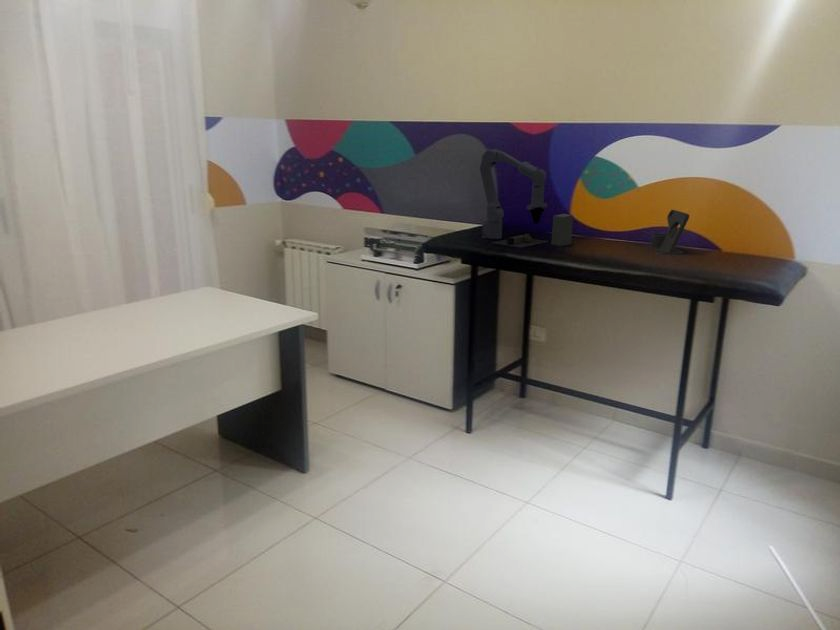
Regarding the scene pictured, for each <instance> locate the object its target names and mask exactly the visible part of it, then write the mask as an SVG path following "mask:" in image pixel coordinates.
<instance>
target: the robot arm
mask: <svg viewBox="0 0 840 630" xmlns="http://www.w3.org/2000/svg"><path fill="white" fill-rule="evenodd" d="M498 162H504V163H506V164H509V165H510V166H512V167H514V168H515V169H516V168H517V169H518V172H519V174H522V175H524V176H526V178H527V177H528V179H531V180H532V188H531V200H530V202H531V203H530V204H528V205H526V210H529V212H530V214H531V216H532V221H533V224H535V225H536V224H537V225H538V224H539V222H540V220H541V216H542V215H543V213H544V211H545V209H544V208H547V207H548V203H545V202H544V196H545V180H546V178H547V173H546V171H545V170H544V169H542V168H539V167H538V166H535V165H532V164H531V161H523V162H521V161H519V160H518V159H516V158H515V157H513V156H511V155H510V154H508V153H506V152H504V151H502V150H499V149H498V148H494V149H490V148H489V149H486V151H484V153H483V154H482V156H481V162H480V166H479V171H480V176H481V180H482V185H483V189H484V193H485V197H486V203H487V206H486V218H487V220H485V221H484V222H483V224H482V237H481V239H490V240H492V239H493V240H498V239H499V240H500V239H502V238H503V237H502V236H503V235H502V234H503V218H504V216H505V211H504V210H503V208H502V206H501V205H502V204H501V203H500V202H499V199H498V196H497V191H496V187H495V182H494V177H493V173H492V169H493V168H494V166H495V165H496V164H498Z"/></svg>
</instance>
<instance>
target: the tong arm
mask: <svg viewBox="0 0 840 630" xmlns="http://www.w3.org/2000/svg"><path fill="white" fill-rule="evenodd" d="M518 236H519V237H515V236H513V237H514V238H510V237H508V238H509V244H510V245H512V244H516V243H521V242H524V237H527V236H526V235H525V234H524V236H520V235H518Z"/></svg>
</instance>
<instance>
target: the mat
mask: <svg viewBox="0 0 840 630" xmlns="http://www.w3.org/2000/svg"><path fill="white" fill-rule="evenodd" d="M548 242H550V241H549V240H542V239H536V238H532V241H531V242H521V243H516V244H512V245H510V244H509V245H508V244H506V243H507V238H505V239H502V240H497V241H491V242H490V244H496V245H502V246H510V247H514V248H521V249H522V248H525V247H531V246H535V245H539V244H543V243H548Z"/></svg>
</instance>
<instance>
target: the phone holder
mask: <svg viewBox="0 0 840 630" xmlns="http://www.w3.org/2000/svg"><path fill="white" fill-rule="evenodd" d="M689 219H690V214H689V213H686V212H683V211H679V210H675V209H671V210H670V211H669V212H668V214H667V218H666V220H667V225H668V230H667V233H653V234H652V235H651V242H650V246H649V248H650V249H652V250H654V251H657V252H658V253H660V254H663V255H685V254H686V251H683V250H681V249H678V248H676V245H677V243H678V242H679V239H680V238H681V236H682V233H683V231H684V229H685V228H686V225H687V223H688V220H689ZM678 226H679V227H678Z"/></svg>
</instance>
